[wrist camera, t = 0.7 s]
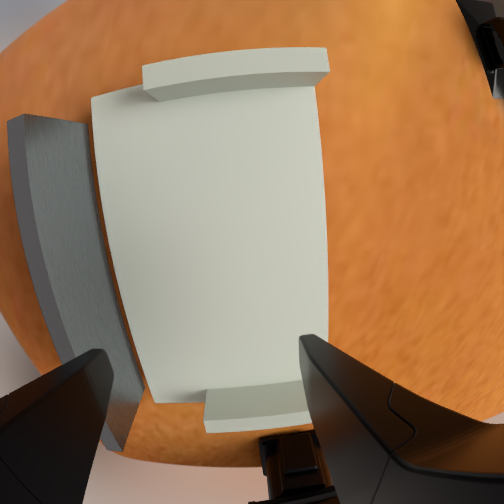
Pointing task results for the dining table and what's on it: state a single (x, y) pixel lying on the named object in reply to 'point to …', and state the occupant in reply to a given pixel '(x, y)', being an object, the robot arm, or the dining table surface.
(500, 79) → the black blocky piece
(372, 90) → the dining table surface
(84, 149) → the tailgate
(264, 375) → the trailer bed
